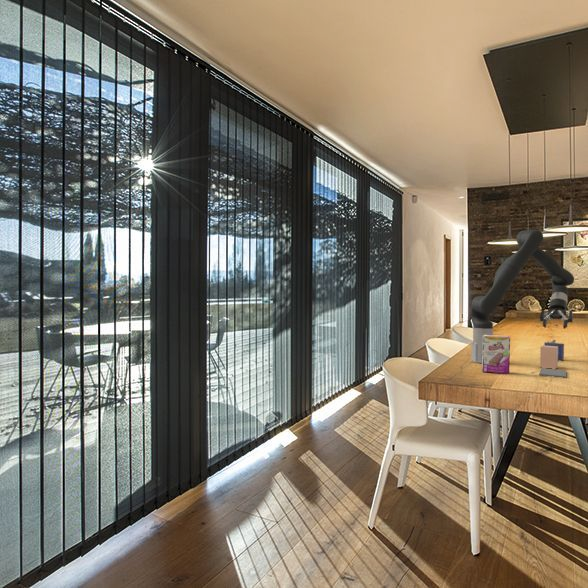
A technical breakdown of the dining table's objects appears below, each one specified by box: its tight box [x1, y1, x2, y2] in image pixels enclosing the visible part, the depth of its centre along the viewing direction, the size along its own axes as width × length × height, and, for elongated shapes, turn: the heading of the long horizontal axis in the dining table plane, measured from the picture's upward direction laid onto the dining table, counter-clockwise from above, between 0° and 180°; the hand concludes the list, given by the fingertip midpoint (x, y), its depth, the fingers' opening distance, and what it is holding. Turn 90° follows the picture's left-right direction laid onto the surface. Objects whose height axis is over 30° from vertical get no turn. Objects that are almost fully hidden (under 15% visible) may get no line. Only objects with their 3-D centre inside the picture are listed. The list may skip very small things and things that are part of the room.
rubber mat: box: [538, 368, 567, 379], centre depth 210 cm, size 16×10×1 cm, turn 150°
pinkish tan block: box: [539, 344, 559, 370], centre depth 225 cm, size 6×6×10 cm
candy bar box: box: [481, 334, 511, 375], centre depth 212 cm, size 11×5×16 cm, turn 71°
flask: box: [543, 339, 565, 362], centre depth 249 cm, size 9×3×11 cm, turn 50°
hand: (554, 327), depth 235 cm, fingers open, 8 cm apart
